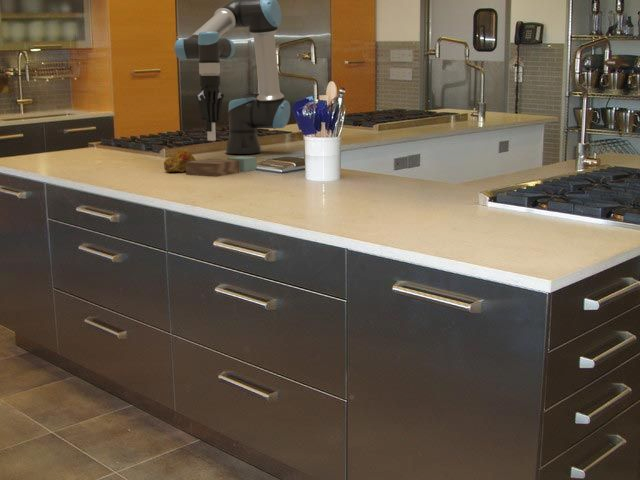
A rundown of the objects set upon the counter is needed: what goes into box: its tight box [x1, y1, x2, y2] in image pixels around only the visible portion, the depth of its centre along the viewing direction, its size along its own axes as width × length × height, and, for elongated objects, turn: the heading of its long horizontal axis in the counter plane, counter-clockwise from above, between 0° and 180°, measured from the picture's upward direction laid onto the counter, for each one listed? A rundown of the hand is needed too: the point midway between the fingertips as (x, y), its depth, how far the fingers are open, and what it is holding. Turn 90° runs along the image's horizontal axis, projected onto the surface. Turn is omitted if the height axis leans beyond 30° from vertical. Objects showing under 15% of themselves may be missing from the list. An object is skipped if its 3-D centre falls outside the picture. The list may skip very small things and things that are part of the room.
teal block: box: [226, 155, 258, 173], centre depth 339 cm, size 8×8×5 cm
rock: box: [163, 148, 197, 173], centre depth 335 cm, size 11×8×10 cm
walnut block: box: [185, 158, 240, 178], centre depth 328 cm, size 14×14×5 cm
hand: (211, 140), depth 326 cm, fingers closed
